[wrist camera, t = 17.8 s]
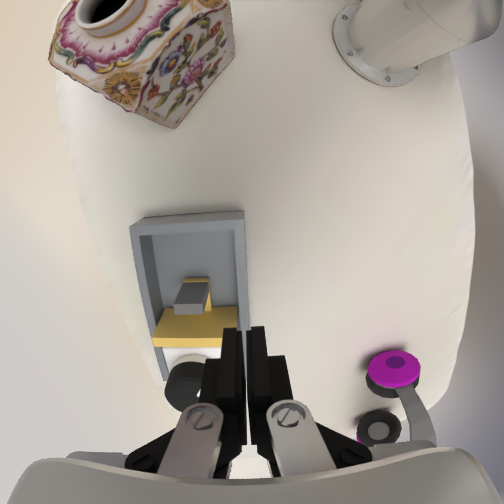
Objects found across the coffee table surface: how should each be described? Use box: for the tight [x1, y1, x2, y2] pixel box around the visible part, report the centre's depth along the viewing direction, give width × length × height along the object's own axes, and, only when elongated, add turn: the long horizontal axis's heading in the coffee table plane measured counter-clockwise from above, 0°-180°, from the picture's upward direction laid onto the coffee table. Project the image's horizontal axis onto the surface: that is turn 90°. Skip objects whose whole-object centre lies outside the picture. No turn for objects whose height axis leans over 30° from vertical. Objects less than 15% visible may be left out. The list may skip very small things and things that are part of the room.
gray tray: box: [129, 211, 250, 381], centre depth 34 cm, size 21×12×5 cm, turn 2°
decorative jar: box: [48, 0, 235, 128], centre depth 19 cm, size 12×12×18 cm
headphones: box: [356, 350, 437, 447], centre depth 34 cm, size 21×9×20 cm, turn 8°
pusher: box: [151, 278, 238, 347], centre depth 31 cm, size 5×9×7 cm, turn 93°
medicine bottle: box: [162, 347, 221, 413], centre depth 31 cm, size 7×7×12 cm
